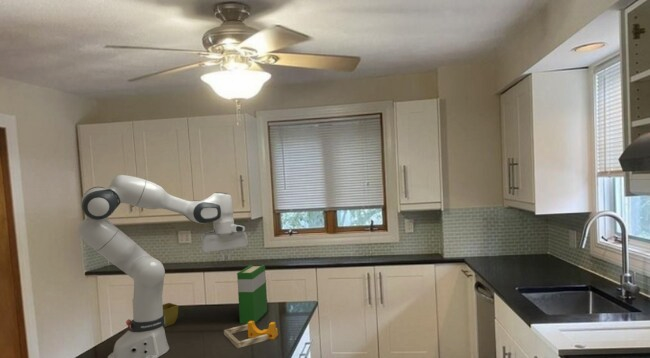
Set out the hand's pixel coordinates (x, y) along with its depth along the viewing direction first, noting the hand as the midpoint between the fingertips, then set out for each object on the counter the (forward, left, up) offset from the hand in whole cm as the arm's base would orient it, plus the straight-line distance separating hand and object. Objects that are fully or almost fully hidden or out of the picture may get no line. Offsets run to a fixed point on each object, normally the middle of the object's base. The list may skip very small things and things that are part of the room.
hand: (225, 260), depth 175 cm
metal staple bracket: (+5, -7, -33) cm, 34 cm away
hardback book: (+17, +15, -33) cm, 40 cm away
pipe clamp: (+11, -11, -34) cm, 37 cm away
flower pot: (-21, +32, -33) cm, 51 cm away
